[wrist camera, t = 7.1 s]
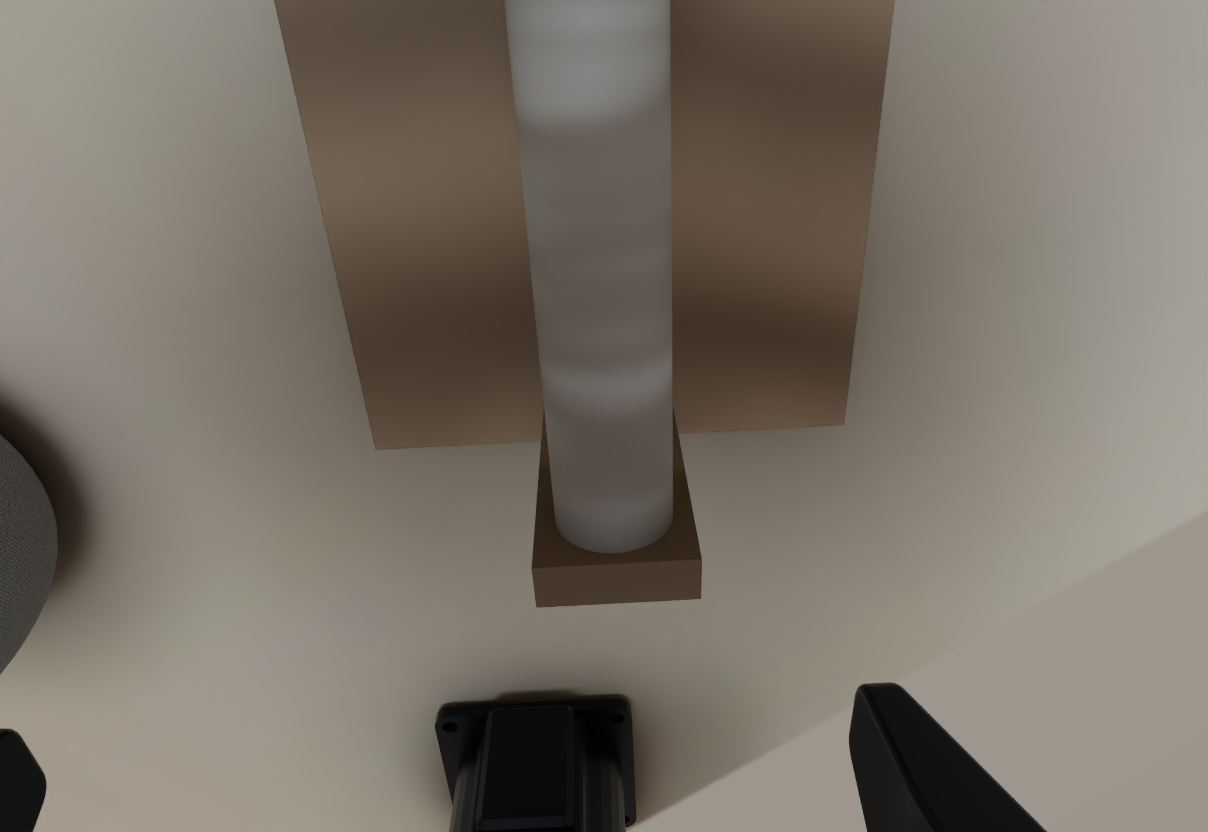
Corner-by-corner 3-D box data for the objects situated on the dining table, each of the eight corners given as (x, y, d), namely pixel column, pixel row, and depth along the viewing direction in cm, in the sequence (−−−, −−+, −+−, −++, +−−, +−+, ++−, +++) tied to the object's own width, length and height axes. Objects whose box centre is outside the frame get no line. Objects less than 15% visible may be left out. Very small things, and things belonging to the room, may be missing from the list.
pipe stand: (833, 405, 22) (927, 587, 16) (383, 429, 22) (311, 618, 16) (944, -600, 13) (1263, -1051, 7) (169, -555, 13) (-186, -963, 7)
